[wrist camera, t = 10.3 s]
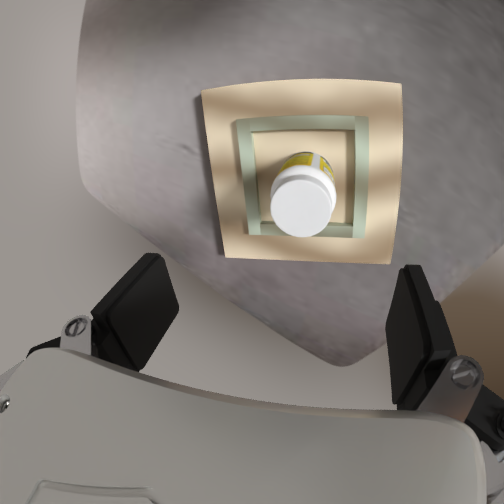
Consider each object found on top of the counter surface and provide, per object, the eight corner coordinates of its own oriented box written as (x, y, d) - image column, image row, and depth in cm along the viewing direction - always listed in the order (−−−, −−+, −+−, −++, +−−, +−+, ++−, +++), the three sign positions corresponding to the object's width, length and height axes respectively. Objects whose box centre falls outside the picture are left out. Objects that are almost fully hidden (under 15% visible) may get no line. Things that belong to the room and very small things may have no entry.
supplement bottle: (274, 187, 25) (252, 224, 18) (293, 142, 23) (278, 160, 16) (320, 208, 25) (317, 253, 18) (342, 164, 23) (350, 194, 16)
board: (207, 90, 23) (197, 90, 21) (396, 84, 19) (403, 83, 17) (229, 250, 32) (223, 261, 30) (387, 256, 28) (391, 268, 26)
